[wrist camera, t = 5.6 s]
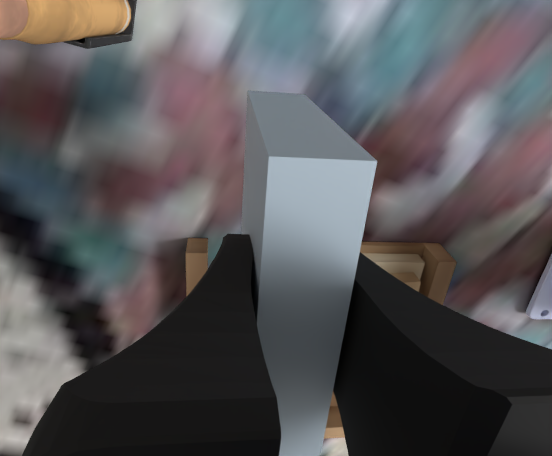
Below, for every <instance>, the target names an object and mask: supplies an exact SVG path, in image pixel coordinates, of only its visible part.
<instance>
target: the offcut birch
mask: <svg viewBox="0 0 552 456" xmlns="http://www.w3.org/2000/svg"><path fill="white" fill-rule="evenodd" d="M362 254H363V255H365V256H366V257H367V258H369V259H370V260H372V261H373V262H374V263H376V264H377V265H378V266H380V267H381V268H383V269H384V270H385V271H387V272H388V273H409V272H414V273H415V275H416V276H417V277H418V279H419V280H420V278H421V275H422V271H423V268H424V265H425V262H424V261H423V260H422V258H421V257H420V256H419V255H418V254H378V253H362Z"/></svg>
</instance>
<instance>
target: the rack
mask: <svg viewBox="0 0 552 456" xmlns="http://www.w3.org/2000/svg"><path fill="white" fill-rule="evenodd" d="M360 252H361V253H378V254H418V255H419V256H420V257H421V258H422V260H423V261H424V262H425V265H424V268H423V271H422V275H421V278H420V281H421V283H420V288H419V293H421V294H423V295H425V296H426V297H428V298H430V299H432V300H434V301H436V302H438V303H439V304H441V305H443V302H444V299H445V296H446V293H447V290H448V287H449V284H450V281H451V278H452V275H453V272H454V269H455V266H456V263H457V262H456V261H455V260H454V259H453V257H452V256H451V255H450V254H449V253H448V252H447V251H446V250H445V249H444V248H443V247H442V246H441V245H440V244H439V243H405V242H362V243H361V248H360ZM207 270H208V238H188V242H187V248H186V297H187V296H188V295H189V293H190V292H191V291H192V290H193V289H194V287H195V286H196V285H197V283H198V282H199V281H200V279H201V278H202V277H203V275H204V274H205V273H206V271H207ZM340 437H345V435H344V430H343V426H342V421H341V417H340V412H339V409H338V405H337V402H336V398H335V395H334V392H333V393H332V398H331V403H330V408H329V413H328V419H327V424H326V429H325V434H324V438H340Z"/></svg>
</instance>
